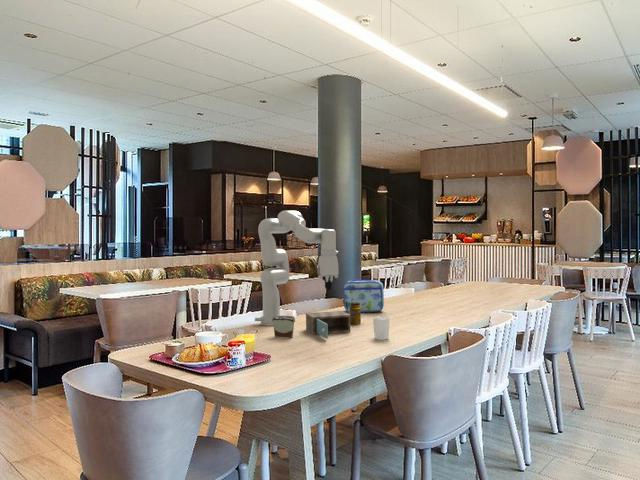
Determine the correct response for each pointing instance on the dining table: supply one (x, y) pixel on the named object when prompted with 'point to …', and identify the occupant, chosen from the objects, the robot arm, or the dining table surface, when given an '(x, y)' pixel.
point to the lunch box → (364, 295)
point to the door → (322, 328)
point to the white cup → (381, 328)
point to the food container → (283, 326)
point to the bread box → (329, 321)
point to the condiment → (355, 314)
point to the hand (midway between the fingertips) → (328, 289)
